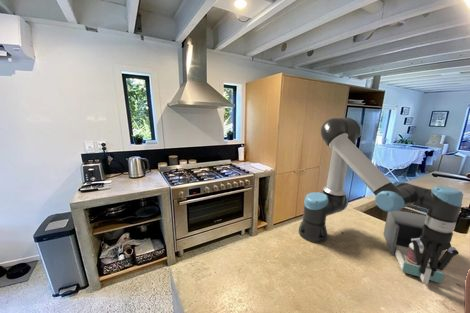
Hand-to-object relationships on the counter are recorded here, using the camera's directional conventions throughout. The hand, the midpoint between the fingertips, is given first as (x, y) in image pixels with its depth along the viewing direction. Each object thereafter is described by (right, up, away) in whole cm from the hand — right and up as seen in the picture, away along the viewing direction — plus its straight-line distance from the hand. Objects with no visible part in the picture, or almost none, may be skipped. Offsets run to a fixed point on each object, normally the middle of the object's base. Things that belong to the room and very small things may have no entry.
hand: (424, 280), depth 75 cm
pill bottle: (+5, +2, +9) cm, 10 cm away
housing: (+11, +3, +21) cm, 24 cm away
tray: (+5, +1, +9) cm, 11 cm away
